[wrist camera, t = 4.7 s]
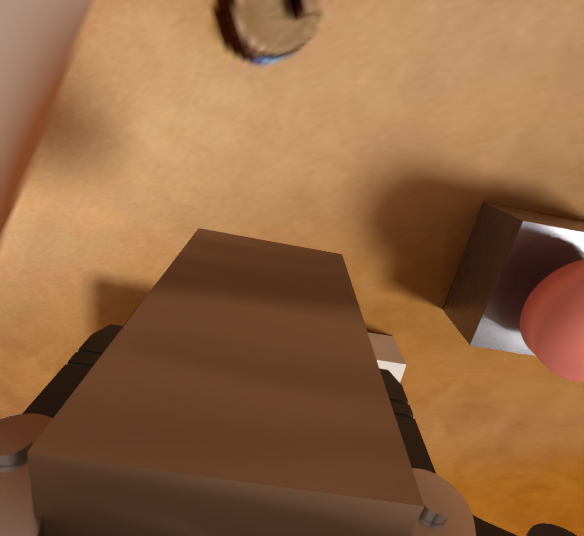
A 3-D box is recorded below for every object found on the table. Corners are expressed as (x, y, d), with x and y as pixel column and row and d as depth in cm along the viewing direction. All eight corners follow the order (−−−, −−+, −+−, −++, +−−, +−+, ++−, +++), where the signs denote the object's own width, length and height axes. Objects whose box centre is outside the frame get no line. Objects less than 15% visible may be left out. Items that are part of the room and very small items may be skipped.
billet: (198, 228, 11) (26, 452, 4) (342, 254, 12) (425, 506, 4) (186, 350, 13) (50, 663, 6) (311, 370, 13) (334, 692, 6)
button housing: (483, 202, 22) (523, 221, 18) (597, 224, 22) (659, 246, 18) (442, 309, 24) (470, 345, 21) (545, 326, 25) (590, 364, 21)
